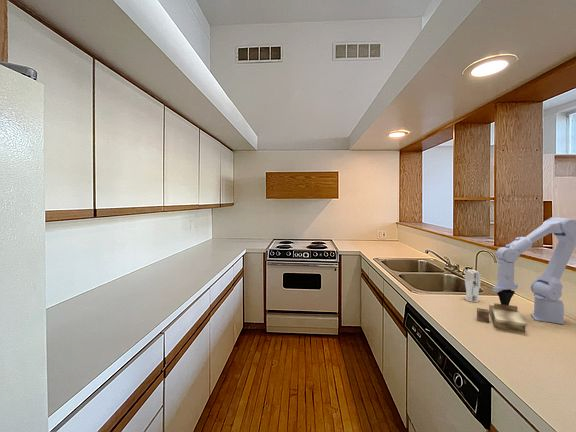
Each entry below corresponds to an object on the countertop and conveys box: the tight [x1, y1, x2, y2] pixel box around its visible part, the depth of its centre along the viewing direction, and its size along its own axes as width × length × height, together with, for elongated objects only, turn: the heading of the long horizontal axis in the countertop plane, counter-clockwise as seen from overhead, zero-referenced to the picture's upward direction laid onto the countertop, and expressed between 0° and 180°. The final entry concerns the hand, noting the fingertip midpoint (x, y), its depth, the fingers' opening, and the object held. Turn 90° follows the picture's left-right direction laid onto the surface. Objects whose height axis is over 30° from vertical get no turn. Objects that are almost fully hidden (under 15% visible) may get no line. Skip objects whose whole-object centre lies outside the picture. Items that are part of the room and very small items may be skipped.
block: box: [476, 307, 490, 324], centre depth 130 cm, size 4×4×4 cm
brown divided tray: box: [488, 304, 526, 333], centre depth 130 cm, size 10×20×3 cm, turn 152°
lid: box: [492, 302, 528, 327], centre depth 125 cm, size 10×15×3 cm, turn 152°
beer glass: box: [464, 269, 482, 303], centre depth 156 cm, size 7×7×15 cm
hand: (504, 306), depth 132 cm, fingers closed
